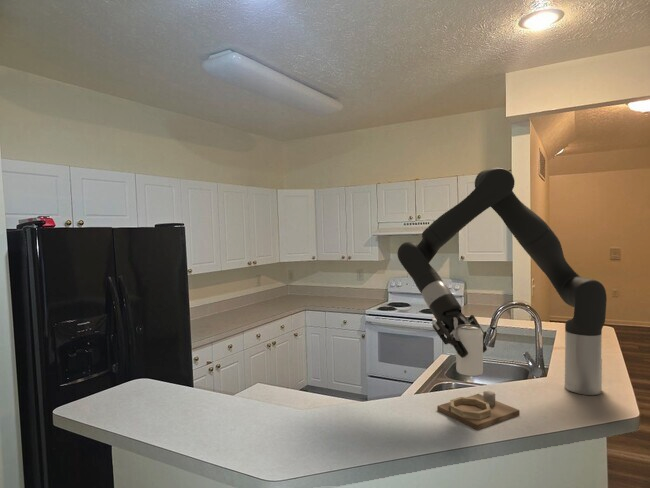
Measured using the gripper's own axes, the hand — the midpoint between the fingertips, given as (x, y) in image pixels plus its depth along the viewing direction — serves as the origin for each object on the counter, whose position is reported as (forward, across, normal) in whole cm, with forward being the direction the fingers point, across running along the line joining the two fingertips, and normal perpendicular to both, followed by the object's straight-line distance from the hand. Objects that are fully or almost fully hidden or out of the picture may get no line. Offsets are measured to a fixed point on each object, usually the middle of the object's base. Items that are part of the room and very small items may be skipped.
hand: (474, 353), depth 108 cm
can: (+3, 0, +5) cm, 6 cm away
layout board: (+11, +3, +13) cm, 17 cm away
